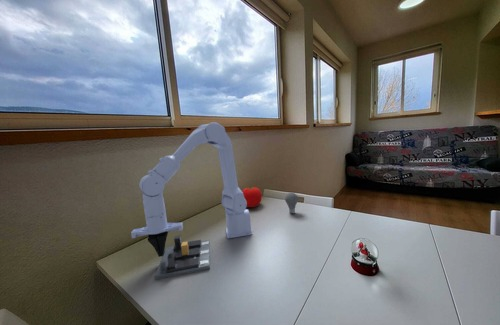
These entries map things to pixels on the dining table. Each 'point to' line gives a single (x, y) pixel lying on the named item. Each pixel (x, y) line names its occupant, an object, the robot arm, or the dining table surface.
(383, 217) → the dining table surface
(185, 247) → the breaker
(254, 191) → the tomato
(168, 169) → the robot arm
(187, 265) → the breaker panel
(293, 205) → the light bulb
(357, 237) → the dining table surface
